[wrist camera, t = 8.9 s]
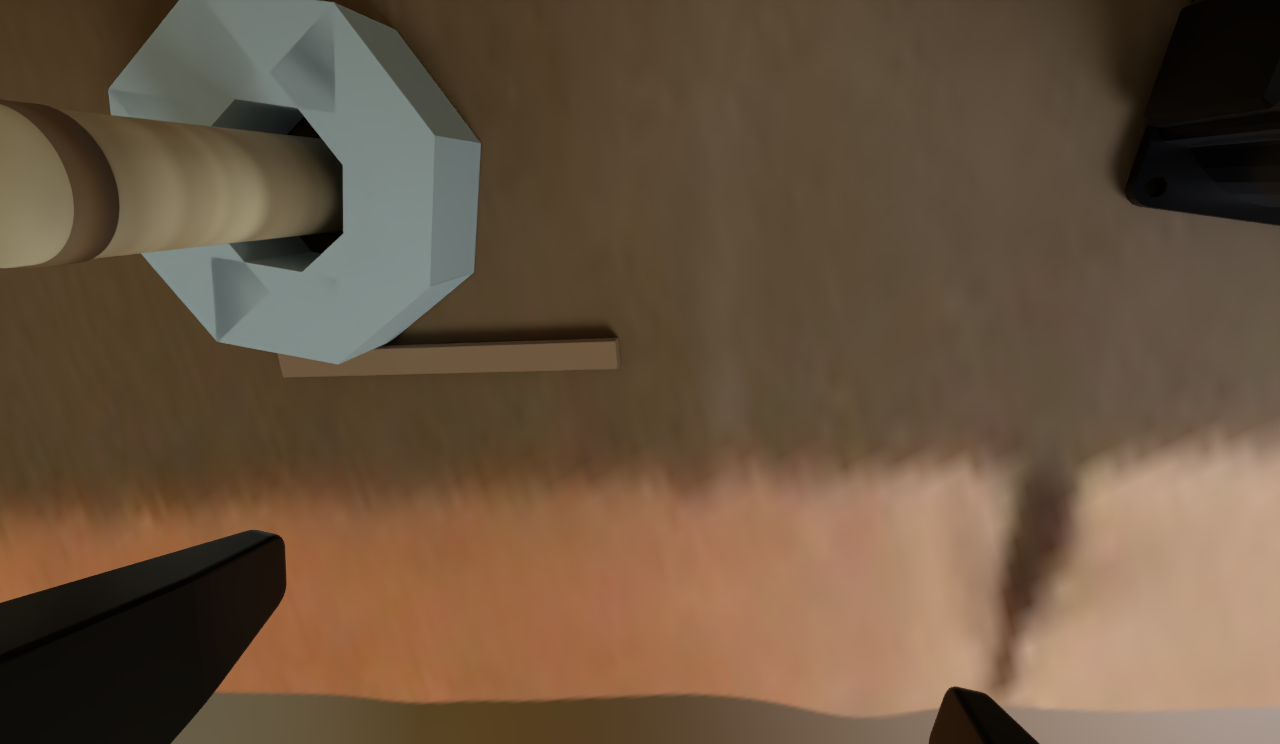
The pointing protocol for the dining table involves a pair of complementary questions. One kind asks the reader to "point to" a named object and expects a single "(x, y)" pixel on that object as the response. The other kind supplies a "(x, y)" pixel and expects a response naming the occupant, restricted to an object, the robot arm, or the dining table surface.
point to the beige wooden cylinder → (152, 186)
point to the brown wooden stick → (466, 358)
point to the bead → (360, 139)
